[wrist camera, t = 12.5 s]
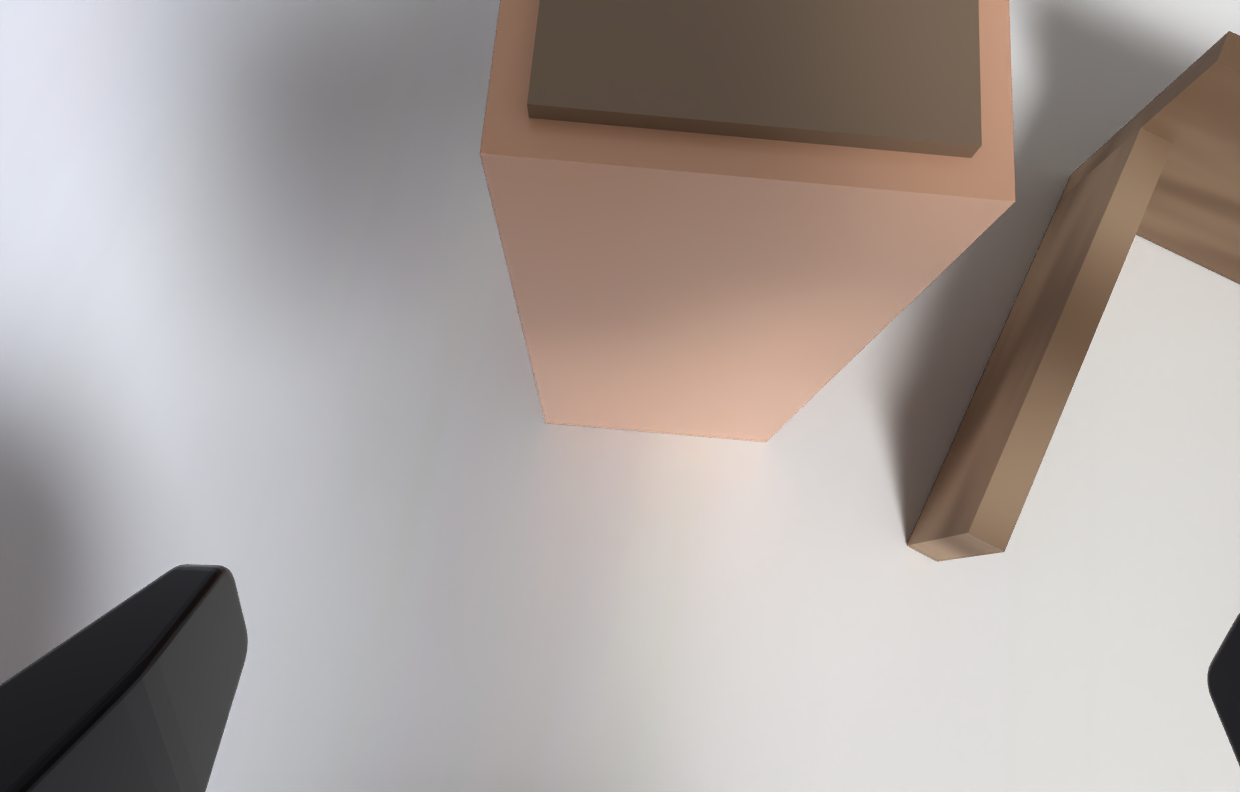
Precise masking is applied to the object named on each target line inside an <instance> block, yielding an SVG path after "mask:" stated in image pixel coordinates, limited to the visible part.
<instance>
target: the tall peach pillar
mask: <svg viewBox="0 0 1240 792" xmlns="http://www.w3.org/2000/svg"><path fill="white" fill-rule="evenodd" d="M480 156H481V160H482V164H483V168H484V172H485V176H486V180H487V184H488V189H489V193H490V197H491V201H492V205H493V209H494V213H495V217H496V222H497V226H498V230H499V234H500V238H501V242H502V246H503V251H504V255H505V259H506V263H507V267H508V271H509V275H510V279H511V284H512V288H513V292H514V296H515V300H516V304H517V308H518V313H519V317H520V321H521V325H522V329H523V333H524V337H525V341H526V346H527V350H528V354H529V358H530V362H531V366H532V370H533V374H534V379H535V383H536V387H537V391H538V395H539V399H540V403H541V408H542V412H543V416H544V420H545V423H552V424H564V425H575V426H587V427H599V428H610V429H622V430H633V431H645V432H656V433H668V434H679V435H691V436H702V437H714V438H725V439H737V440H749V441H760V442H767V441H768V440H769V439H770V438H771V437H772V436H773V435H774V434H775V433H776V432H777V431H778V430H779V429H780V428H781V427H782V426H783V425H784V424H785V423H786V422H787V421H788V420H790V419H791V418H792V417H793V416H794V415H795V414H796V413H797V412H798V411H799V410H800V409H801V408H802V407H803V406H804V405H805V404H806V403H807V402H808V401H809V400H810V399H811V398H812V397H813V396H814V395H815V394H816V393H818V392H819V391H820V390H821V389H822V388H823V387H824V386H825V385H826V384H827V383H828V382H829V381H830V380H831V379H832V378H833V377H834V376H835V375H836V374H837V373H838V372H839V371H840V370H841V369H842V368H843V367H844V366H846V365H847V364H848V363H849V362H850V361H851V360H852V359H853V358H854V357H855V356H856V355H857V354H858V353H859V352H860V351H861V350H862V349H863V348H864V347H865V346H866V345H867V344H868V343H869V342H870V341H871V340H872V339H874V338H875V337H876V336H877V335H878V334H879V333H880V332H881V331H882V330H883V329H884V328H885V327H886V326H887V325H888V324H889V323H890V322H891V321H892V320H893V319H894V318H895V317H896V316H897V315H898V314H899V313H900V312H902V311H903V310H904V309H905V308H906V307H907V306H908V305H909V304H910V303H911V302H912V301H913V300H914V299H915V298H916V297H917V296H918V295H919V294H920V293H921V292H922V291H923V290H924V289H925V288H926V287H927V286H928V285H930V284H931V283H932V282H933V281H934V280H935V279H936V278H937V277H938V276H939V275H940V274H941V273H942V272H943V271H944V270H945V269H946V268H947V267H948V266H949V265H950V264H951V263H952V262H953V261H954V260H955V259H956V258H958V257H959V256H960V255H961V254H962V253H963V252H964V251H965V250H966V249H967V248H968V247H969V246H970V245H971V244H972V243H973V242H974V241H975V240H976V239H977V238H978V237H979V236H980V235H981V234H982V233H983V232H984V231H986V230H987V229H988V228H989V227H990V226H991V225H992V224H993V223H994V222H995V221H996V220H997V219H998V218H999V217H1000V216H1001V215H1002V214H1003V213H1004V212H1005V211H1006V210H1007V209H1008V208H1009V207H1010V206H1011V205H1012V204H1014V203H1015V202H1016V199H1015V169H1014V138H1013V108H1012V77H1011V47H1010V16H1009V0H500V7H499V15H498V22H497V30H496V37H495V45H494V52H493V59H492V67H491V74H490V82H489V89H488V97H487V104H486V112H485V119H484V126H483V134H482V141H481V149H480Z"/></svg>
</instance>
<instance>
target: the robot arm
mask: <svg viewBox="0 0 1240 792" xmlns="http://www.w3.org/2000/svg"><path fill="white" fill-rule="evenodd" d="M247 644H248V638H247V630H246V625H245V621H244V617H243V613H242V609H241V605H240V601H239V596H238V592H237V588H236V584H235V580H234V577H233V575H232V573H231V572H230V570H229V569H227V568H226V567H223V566H219V565H192V564H186V565H180V566H177V567H175V568H173V569H171V570H169V571H168V572H166V573H165V574H163V575H162V576H160V577H159V578H158V579H156V580H155V581H153V582H152V583H150V584H149V585H147V586H146V587H144V588H143V589H141V590H140V591H138V592H137V593H135V594H134V595H132V596H131V597H129V598H128V599H127V600H125V601H124V602H122V603H121V604H119V605H118V606H116V607H115V608H113V609H112V610H110V611H109V612H107V613H106V614H104V615H103V616H101V617H100V618H99V619H97V620H96V621H94V622H93V623H91V624H90V625H88V626H87V627H85V628H84V629H82V630H81V631H79V632H78V633H76V634H75V635H73V636H72V637H70V638H69V639H68V640H66V641H65V642H63V643H62V644H60V645H59V646H57V647H56V648H54V649H53V650H51V651H50V652H48V653H47V654H45V655H44V656H42V657H41V658H40V659H38V660H37V661H35V662H34V663H32V664H31V665H29V666H28V667H26V668H25V669H23V670H22V671H20V672H19V673H17V674H16V675H14V676H13V677H11V678H10V679H9V680H7V681H6V682H4V683H3V684H1V685H0V792H205V791H206V788H207V785H208V781H209V778H210V775H211V771H212V768H213V765H214V761H215V758H216V755H217V752H218V748H219V745H220V742H221V738H222V735H223V732H224V728H225V725H226V722H227V719H228V715H229V712H230V709H231V705H232V702H233V699H234V695H235V692H236V689H237V686H238V682H239V679H240V676H241V672H242V669H243V666H244V662H245V658H246V653H247ZM1208 688H1209V692H1210V696H1211V698H1212V701H1213V703H1214V705H1215V708H1216V710H1217V713H1218V715H1219V718H1220V720H1221V722H1222V725H1223V727H1224V730H1225V732H1226V734H1227V737H1228V739H1229V742H1230V744H1231V746H1232V749H1233V751H1234V754H1235V756H1236V758H1237V761H1238V763H1239V766H1240V613H1239V615H1238V616H1237V618H1236V620H1235V621H1234V623H1233V625H1232V627H1231V628H1230V630H1229V632H1228V634H1227V635H1226V637H1225V639H1224V641H1223V642H1222V644H1221V646H1220V648H1219V649H1218V651H1217V653H1216V655H1215V657H1214V658H1213V660H1212V662H1211V664H1210V666H1209V670H1208Z"/></svg>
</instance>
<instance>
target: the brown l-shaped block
mask: <svg viewBox="0 0 1240 792" xmlns="http://www.w3.org/2000/svg"><path fill="white" fill-rule="evenodd" d="M1135 235H1138V236H1141V237H1143V238H1145V239H1147V240H1149V241H1151V242H1153V243H1155V244H1157V245H1159V246H1161V247H1163V248H1166V249H1168V250H1170V251H1172V252H1174V253H1176V254H1178V255H1180V256H1182V257H1184V258H1186V259H1188V260H1191V261H1193V262H1195V263H1197V264H1199V265H1201V266H1203V267H1205V268H1207V269H1209V270H1211V271H1213V272H1216V273H1218V274H1220V275H1222V276H1224V277H1226V278H1228V279H1230V280H1232V281H1234V282H1236V283H1238V284H1240V36H1239V35H1237V34H1235V33H1232V32H1230V31H1229V32H1228V33H1227V34H1225V35H1224V36H1223V37H1222V38H1221V39H1220V40H1219V41H1218V42H1217V43H1216V44H1214V45H1213V46H1212V47H1211V48H1210V49H1209V50H1208V51H1207V52H1206V53H1205V54H1203V55H1202V56H1201V57H1200V58H1199V59H1198V60H1197V61H1196V62H1195V63H1194V64H1192V65H1191V66H1190V67H1189V68H1188V69H1187V70H1186V71H1185V72H1184V73H1183V74H1181V75H1180V76H1179V77H1178V78H1177V79H1176V80H1175V81H1174V82H1173V83H1172V84H1170V85H1169V86H1168V87H1167V88H1166V89H1165V90H1164V91H1163V92H1162V93H1161V94H1159V95H1158V96H1157V97H1156V98H1155V99H1154V100H1153V101H1152V102H1151V103H1150V104H1148V105H1147V106H1146V107H1145V108H1144V109H1143V110H1142V111H1141V112H1140V113H1139V114H1137V115H1136V116H1135V117H1134V118H1133V119H1132V120H1131V121H1130V122H1129V123H1128V124H1126V125H1125V126H1124V127H1123V128H1122V129H1121V130H1120V131H1119V132H1118V133H1117V134H1115V135H1114V136H1113V137H1112V138H1111V139H1110V140H1109V141H1108V142H1107V143H1106V144H1104V145H1103V146H1102V147H1101V148H1100V149H1099V150H1098V151H1097V152H1096V153H1095V154H1093V155H1092V156H1091V157H1090V158H1089V159H1088V160H1087V161H1086V162H1085V163H1084V164H1082V165H1081V166H1080V167H1079V168H1078V169H1077V170H1076V171H1075V172H1074V173H1073V174H1071V176H1070V179H1069V181H1068V183H1067V185H1066V188H1065V190H1064V192H1063V194H1062V197H1061V199H1060V201H1059V203H1058V206H1057V208H1056V210H1055V212H1054V215H1053V217H1052V219H1051V221H1050V224H1049V226H1048V228H1047V231H1046V233H1045V235H1044V237H1043V240H1042V242H1041V244H1040V246H1039V249H1038V251H1037V253H1036V255H1035V258H1034V260H1033V262H1032V264H1031V267H1030V269H1029V271H1028V273H1027V276H1026V278H1025V280H1024V282H1023V285H1022V287H1021V289H1020V291H1019V294H1018V296H1017V298H1016V300H1015V303H1014V305H1013V307H1012V310H1011V312H1010V314H1009V316H1008V319H1007V321H1006V323H1005V325H1004V328H1003V330H1002V332H1001V334H1000V337H999V339H998V341H997V343H996V346H995V348H994V350H993V352H992V355H991V357H990V359H989V361H988V364H987V366H986V368H985V370H984V373H983V375H982V377H981V379H980V382H979V384H978V386H977V388H976V391H975V393H974V395H973V398H972V400H971V402H970V404H969V407H968V409H967V411H966V413H965V416H964V418H963V420H962V422H961V425H960V427H959V429H958V431H957V434H956V436H955V438H954V440H953V443H952V445H951V447H950V449H949V452H948V454H947V456H946V458H945V461H944V463H943V465H942V467H941V470H940V472H939V474H938V476H937V479H936V481H935V483H934V486H933V488H932V490H931V492H930V495H929V497H928V499H927V501H926V504H925V506H924V508H923V510H922V513H921V515H920V517H919V519H918V522H917V524H916V526H915V528H914V531H913V533H912V535H911V537H910V540H909V542H908V544H907V546H909V547H911V548H912V549H914V550H916V551H918V552H920V553H922V554H924V555H926V556H928V557H930V558H931V559H933V560H935V561H944V560H951V559H958V558H965V557H972V556H979V555H986V554H993V553H1000V552H1004V551H1005V549H1006V546H1007V544H1008V542H1009V539H1010V537H1011V534H1012V532H1013V530H1014V527H1015V525H1016V522H1017V520H1018V517H1019V515H1020V513H1021V510H1022V508H1023V505H1024V503H1025V501H1026V498H1027V496H1028V493H1029V491H1030V488H1031V486H1032V484H1033V481H1034V479H1035V476H1036V474H1037V472H1038V469H1039V467H1040V464H1041V462H1042V459H1043V457H1044V455H1045V452H1046V450H1047V447H1048V445H1049V443H1050V440H1051V438H1052V435H1053V433H1054V430H1055V428H1056V426H1057V423H1058V421H1059V418H1060V416H1061V414H1062V411H1063V409H1064V406H1065V404H1066V401H1067V399H1068V397H1069V394H1070V392H1071V389H1072V387H1073V385H1074V382H1075V380H1076V377H1077V375H1078V372H1079V370H1080V368H1081V365H1082V363H1083V360H1084V358H1085V356H1086V353H1087V351H1088V348H1089V346H1090V343H1091V341H1092V339H1093V336H1094V334H1095V331H1096V329H1097V326H1098V324H1099V322H1100V319H1101V317H1102V314H1103V312H1104V310H1105V307H1106V305H1107V302H1108V300H1109V297H1110V295H1111V293H1112V290H1113V288H1114V285H1115V283H1116V281H1117V278H1118V276H1119V273H1120V271H1121V268H1122V266H1123V264H1124V261H1125V259H1126V256H1127V254H1128V252H1129V249H1130V247H1131V244H1132V242H1133V239H1134V237H1135Z"/></svg>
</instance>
